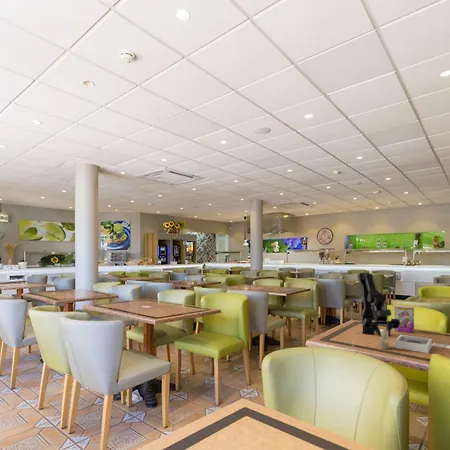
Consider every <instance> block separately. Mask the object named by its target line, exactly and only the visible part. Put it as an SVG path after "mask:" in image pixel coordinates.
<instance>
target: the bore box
mask: <svg viewBox="0 0 450 450" xmlns="http://www.w3.org/2000/svg"><path fill="white" fill-rule="evenodd" d="M432 346H433V339H432V338H428V337H419V336H415V335H406V334H405V335H404V334H400V335H399V336H397V338H395V340H394V347H395V349H400V350H406V351H407V350H408V351H414V352H419V353H424V354H425V353H426V354H429V353H430V350H431V349H432Z"/></svg>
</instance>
